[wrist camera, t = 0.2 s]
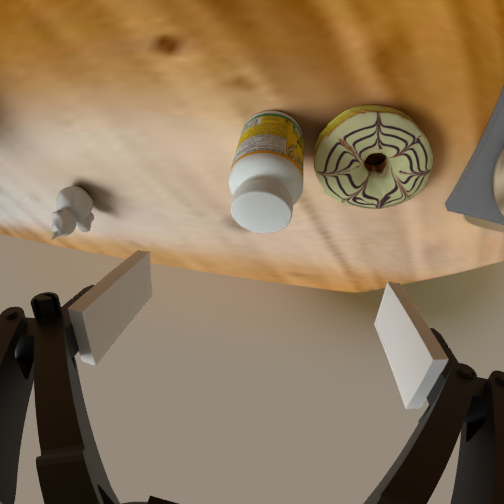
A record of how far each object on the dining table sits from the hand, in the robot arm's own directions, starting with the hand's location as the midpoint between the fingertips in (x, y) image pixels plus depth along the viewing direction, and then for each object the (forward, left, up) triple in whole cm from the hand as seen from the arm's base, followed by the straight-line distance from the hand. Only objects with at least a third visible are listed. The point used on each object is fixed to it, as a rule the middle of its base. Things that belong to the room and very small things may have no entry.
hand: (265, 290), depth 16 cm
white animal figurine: (+10, -25, -15) cm, 31 cm away
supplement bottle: (0, -1, -15) cm, 16 cm away
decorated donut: (0, +8, -16) cm, 18 cm away
